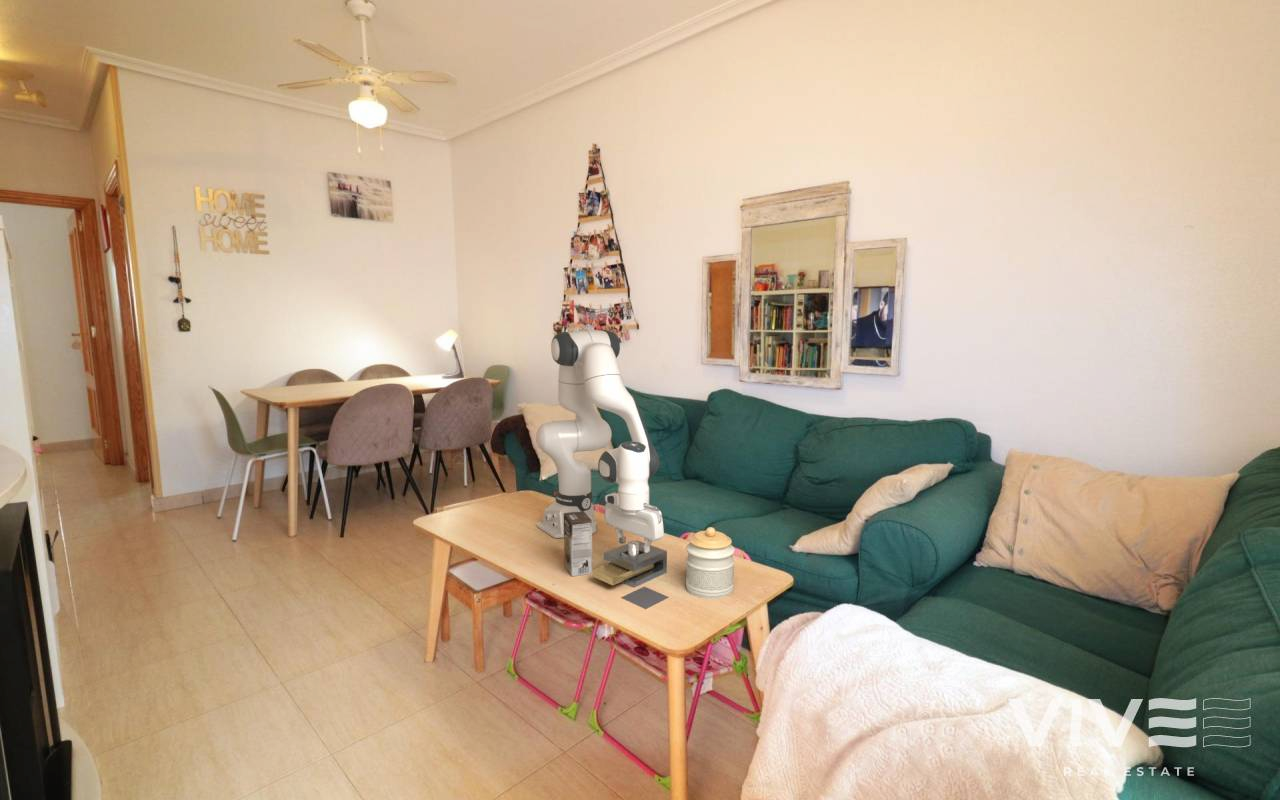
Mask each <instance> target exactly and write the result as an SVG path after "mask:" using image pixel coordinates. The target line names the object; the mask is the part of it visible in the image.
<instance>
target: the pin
mask: <svg viewBox="0 0 1280 800" xmlns="http://www.w3.org/2000/svg"><path fill="white" fill-rule="evenodd" d="M638 541H639V540H638ZM638 541H636V540H629V541H628V542H627V544H628V555H630V556H632V557H635V556H638V555H639V542H638Z"/></svg>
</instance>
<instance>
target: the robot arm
mask: <svg viewBox="0 0 1280 800" xmlns="http://www.w3.org/2000/svg"><path fill="white" fill-rule="evenodd" d="M550 351H551V356H552V359H553V360H554V362H555V363H557V364H558V365H559V366H558V367H559V368H558V381H557V383H558V385H557V387H558V388H557V389H558V391H557V392H558V393H557V394H558V396H557V397H558V403H559V405H560V406H561V407H562V408H563V409H564V410H566V411H569V412H570V413H573V414H575V418H574V419H569V420H568V419H566V420H554V421H549V422H545V423H542V424H541V425H540V426H539V427H538V428H537V430H536V433H535V443H536V445H537V447H538V449H540V450H541V452H543V453H545V454H546V455H547V456H548V457H549V458H550V459H551V460H552V461H553V463H554V465H555V468H556V472H557V479H558V491H554V492H553V493H554V495H553V496H556V497H555V500H554V501H553V502H552V503H551V504H550V505H549V506H547V507H546V508H545V509H544V511H543V517H542V518H543V519H541V520H539V521H538V522H537V523H536V527H537V528H539V529H540V530H542V531H543V532H545V533H546V534H548V535H549V536H551V537H552V538H554V539H560V538H563V539H564V513H570V512H582V511H584V512H585V513H586V515H587V516H588V517H589V518H590V519H591V520H592V535H593V534H595V533H596V532H597V526H598V522H597V521H596V518H595V507H594V504H593V497H594V495H593V490H592V471H591V469H590V467H589V466H588V464H586V463H584V462H582V461H580V460H577V459H575V458H574V454H575V453H581V452H594V451H598V450H602V449H605V448H607V447H608V446H609V445H610V442H611V440H612V433H613V432H612V429H611V427H610V424H609V423H608V422H607V421H606V420H604V419H603V418H602V417H601V416H599V414H598V412H597V411H596V409H595V407H596V408H599V409H601V410H604V411H607V412H610V413H613V414H616V415H618V416H619V417H621V418H622V420H624V421H625V423H626V427H627V429H628V433H629V435H630V437H631V438H630V439H631V440H627V441H624V442H622V443H621V444H620V445H619V446H618V447H616V448H612V449H608V450H605V451H603V452H602V454H601V455H600V457H599V459H598V463H597V464H598V467H597V469H598V473H599V476H600V477H601V478H602V479H603V480H604V481H605V482H607V483H613V484H615V483H616V484H617V485H618V488H617V491H615V492H612V493H609V494H606V495H605V496H604V500H605V502H606V503H605V506H604V521H605V523H606V525H607V526H610V527H613V528H614V531H615V534H616V536H617V542H618V543H619V544H623V545H624V544H625V543H626V539H627V536H625V535H624V532H627V533H628V534H629V533H630V534H632V535H635V536H638V537H641V538H643V539H644V543H645V545H642V551H643V552H645V553H647V552H649V551H650V545H652V543H653V542H655V541H658V540H661V539H662V538H663V537H664V534H665V533H664V532H665V531H664V522H663V514H662V511H661V509H659V507H658V506H655V505H651V504H650V486H649V480H651V478H653V477H654V476H655V474H656V473H657V471H658V469H659V468H660V457H659V455H658V452H657V450H656V448H655V447H654V444H653V442H652V440H651V437H650V435H649V432H648V429H647V426H646V423H645V420H644V417H643V414H642V411H641V408H640V406H639V404H638V401H637V399H636V398H635V396H634V395H633V394H630V392H629V391H628V390H627V388H626V386H625V385H624V383H623V380H622V375H621V370H620V366H619V363H618V359H617V358H618V356H619V354H620V351H621V343H620V339H619V337H618V335H617V334H616V333H615V332H614V331H611V330H608V329H603V330H597V329H583V330H574V331H569V332H568V331H563V332H559V333H556V334H555V335H554V336H553V338H552V339H551V345H550ZM594 406H595V407H594ZM623 531H624V532H623Z"/></svg>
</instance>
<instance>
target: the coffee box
mask: <svg viewBox="0 0 1280 800" xmlns="http://www.w3.org/2000/svg"><path fill="white" fill-rule="evenodd" d="M563 539H564V541H563V546H564V548H563V549H564V550H563V551H564V565H565V567H566V569H567V571H568V573H569V575H570V576H571V577H578V576H586V575H593V534H592V520H591V519H590V518H589V517H588V516H587V515H586V513H585V512H584V511H582V512H570V513H564V537H563Z"/></svg>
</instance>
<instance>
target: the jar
mask: <svg viewBox="0 0 1280 800" xmlns="http://www.w3.org/2000/svg"><path fill="white" fill-rule="evenodd" d="M732 543H733V541H732V538H731V537H729V536H728V535H726V534H725V533H723V532H720V531H718V530H716V529H715V528H714V527H712V526H709V527H707V528H706V529H705V530H700V531H697V532H696V533H695V534H693V535H691V536H690V537H689V543H687V544H686V546H685V549H686V552H687V557H686V559H685V562H686V579H685V587H686V590H687V592H688V594H690V595H692V596H695V597H697V598H700V599H703V600H704V599H705V600H720V599H719V598H721V599H724V598H723V597H725V598H727V597H729V596H731V595H732V594H733V592H734V588H735V582H734V581H735V580H734V574H735V573H734V572H735V569H734V567H735V558H734V557H733V555H734V554H735V550H736V549H735V547H734V545H732ZM732 591H733V592H732ZM731 593H732V594H731ZM730 594H731V595H730ZM728 595H729V596H728ZM726 596H727V597H726Z"/></svg>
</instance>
